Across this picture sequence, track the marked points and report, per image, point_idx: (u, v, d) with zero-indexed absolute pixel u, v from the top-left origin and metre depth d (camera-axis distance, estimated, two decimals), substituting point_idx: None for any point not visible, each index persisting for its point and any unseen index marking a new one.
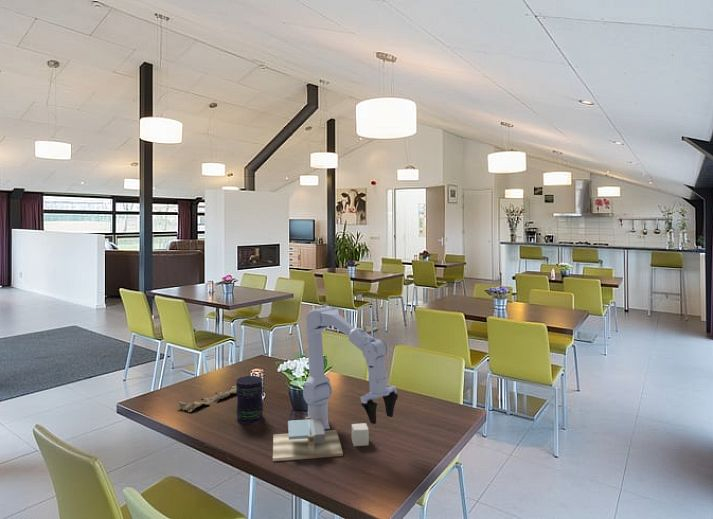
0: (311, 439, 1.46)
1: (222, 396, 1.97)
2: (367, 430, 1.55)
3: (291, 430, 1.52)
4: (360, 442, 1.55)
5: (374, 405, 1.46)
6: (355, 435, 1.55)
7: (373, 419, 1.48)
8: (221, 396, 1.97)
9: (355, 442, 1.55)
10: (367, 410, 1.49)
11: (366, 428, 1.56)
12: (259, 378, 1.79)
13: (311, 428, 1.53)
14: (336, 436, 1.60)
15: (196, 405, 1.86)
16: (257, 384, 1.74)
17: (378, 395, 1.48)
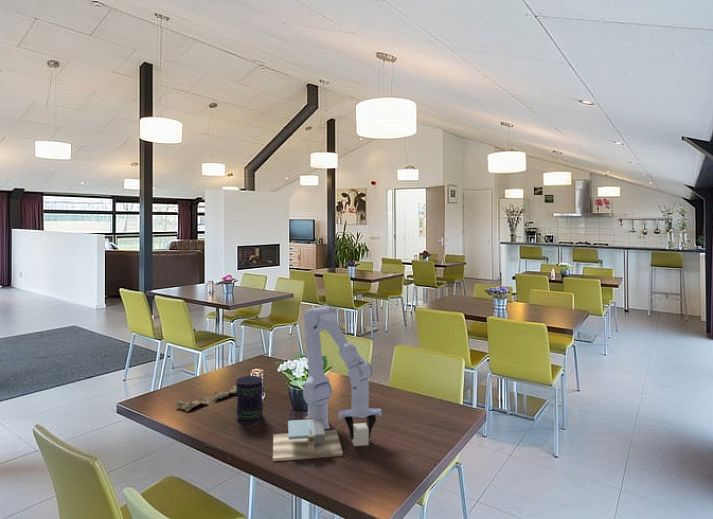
0: (311, 439, 1.46)
1: (221, 396, 1.97)
2: (367, 430, 1.55)
3: (291, 430, 1.52)
4: (360, 441, 1.55)
5: (350, 423, 1.54)
6: (355, 435, 1.55)
7: (350, 435, 1.56)
8: (220, 396, 1.97)
9: (355, 442, 1.55)
10: None
11: (366, 428, 1.56)
12: (259, 378, 1.79)
13: (311, 428, 1.53)
14: (336, 436, 1.60)
15: (194, 404, 1.86)
16: (257, 384, 1.74)
17: (353, 415, 1.54)
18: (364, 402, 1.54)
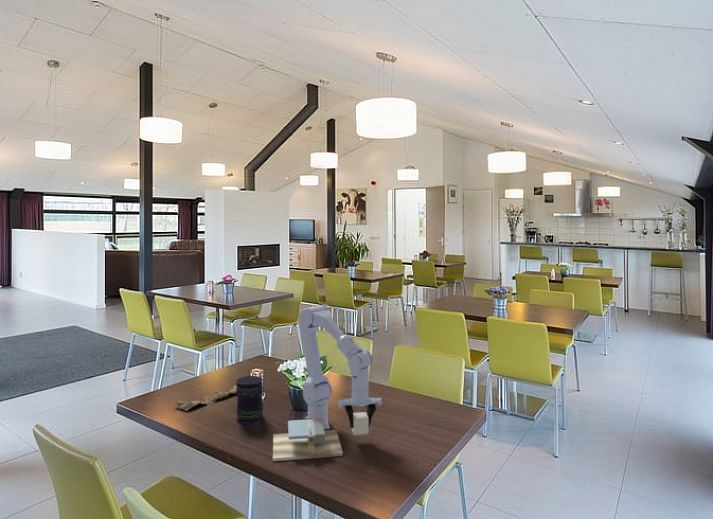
0: (311, 439, 1.46)
1: (220, 396, 1.97)
2: (367, 419, 1.55)
3: (291, 430, 1.52)
4: (360, 430, 1.55)
5: (350, 411, 1.54)
6: (355, 424, 1.55)
7: (350, 423, 1.56)
8: (219, 396, 1.97)
9: (355, 431, 1.55)
10: None
11: (366, 417, 1.56)
12: (259, 378, 1.79)
13: (311, 428, 1.53)
14: (336, 436, 1.60)
15: (193, 404, 1.87)
16: (257, 384, 1.74)
17: (353, 403, 1.54)
18: (364, 391, 1.54)
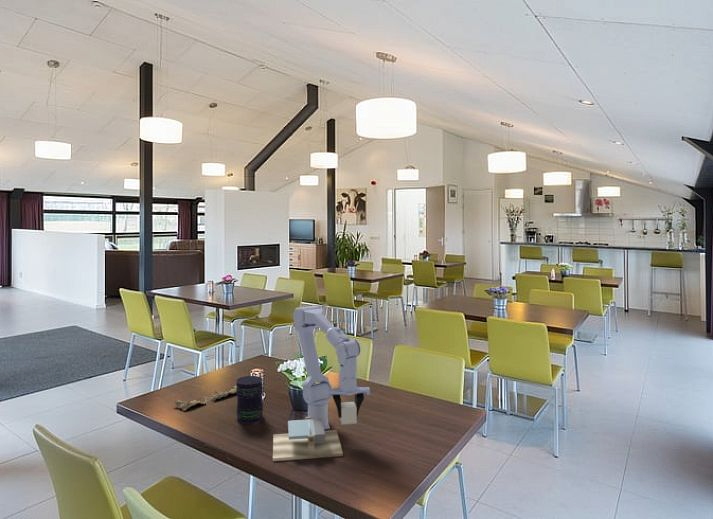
0: (311, 439, 1.46)
1: (219, 396, 1.97)
2: (355, 408, 1.54)
3: (291, 430, 1.52)
4: (348, 420, 1.54)
5: (337, 401, 1.53)
6: (343, 413, 1.54)
7: (338, 413, 1.55)
8: (219, 396, 1.97)
9: (343, 420, 1.54)
10: None
11: (354, 406, 1.55)
12: (259, 378, 1.79)
13: (311, 428, 1.53)
14: (336, 436, 1.60)
15: (191, 404, 1.87)
16: (257, 384, 1.74)
17: (341, 393, 1.53)
18: (352, 380, 1.53)
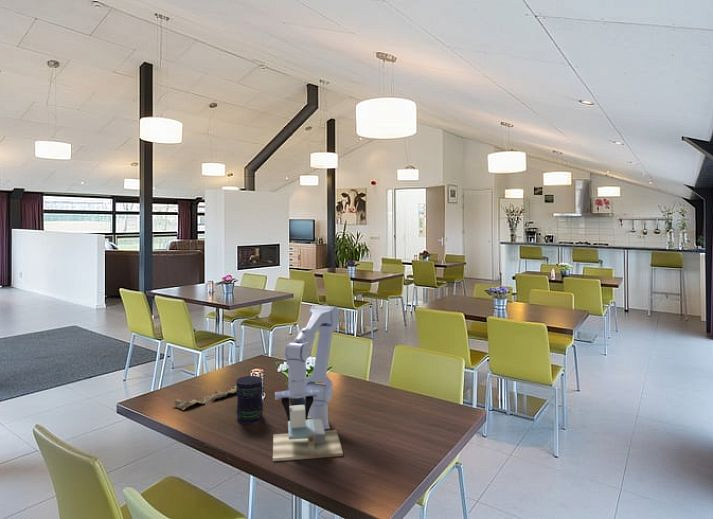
0: (311, 439, 1.46)
1: (219, 396, 1.97)
2: (304, 411, 1.51)
3: (291, 430, 1.52)
4: (297, 423, 1.51)
5: (285, 404, 1.50)
6: (291, 417, 1.51)
7: (287, 416, 1.52)
8: (218, 396, 1.97)
9: (291, 424, 1.51)
10: None
11: (303, 410, 1.52)
12: (259, 378, 1.79)
13: (311, 428, 1.53)
14: (336, 436, 1.60)
15: (190, 403, 1.88)
16: (257, 384, 1.74)
17: (289, 395, 1.50)
18: (300, 382, 1.50)
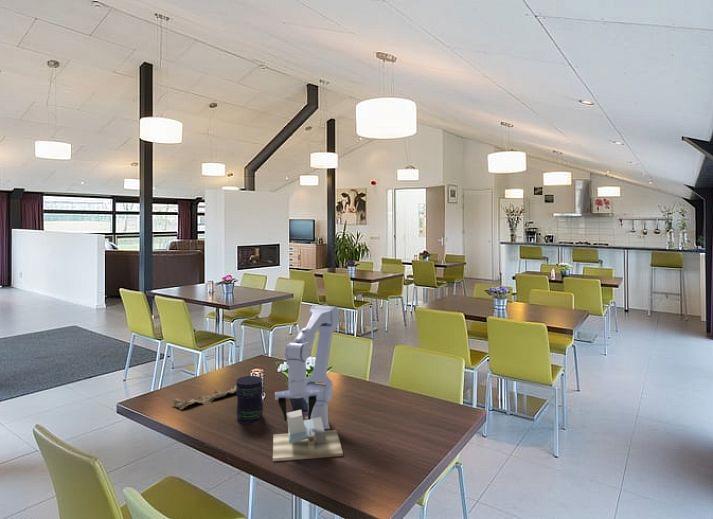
0: (311, 439, 1.46)
1: (218, 395, 1.98)
2: (301, 416, 1.51)
3: None
4: (296, 429, 1.51)
5: (282, 404, 1.50)
6: (289, 424, 1.51)
7: (284, 416, 1.52)
8: (217, 395, 1.98)
9: (290, 430, 1.51)
10: None
11: (300, 415, 1.52)
12: (259, 378, 1.79)
13: (311, 428, 1.53)
14: (336, 436, 1.60)
15: (188, 403, 1.88)
16: (257, 384, 1.74)
17: (289, 395, 1.50)
18: (300, 382, 1.50)
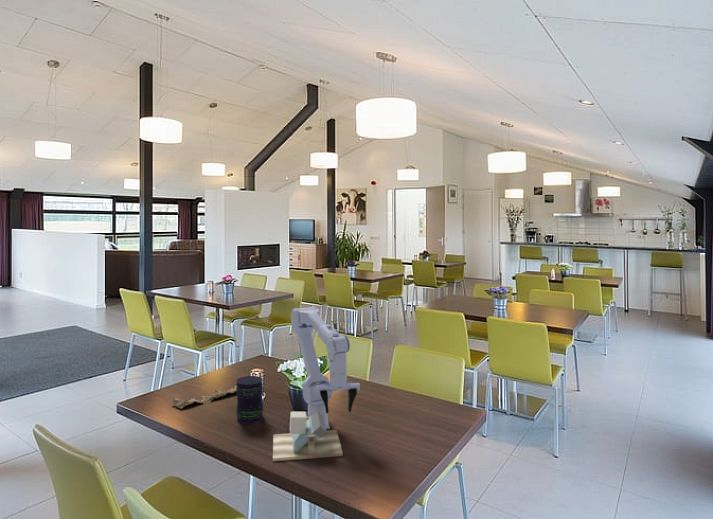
0: (311, 439, 1.46)
1: (218, 395, 1.98)
2: (305, 418, 1.52)
3: (295, 442, 1.52)
4: (297, 429, 1.51)
5: (324, 396, 1.54)
6: (292, 423, 1.51)
7: (325, 409, 1.56)
8: (217, 395, 1.98)
9: (292, 430, 1.51)
10: None
11: (304, 416, 1.52)
12: (259, 378, 1.79)
13: (310, 427, 1.53)
14: (336, 436, 1.60)
15: (188, 402, 1.88)
16: (257, 384, 1.74)
17: (331, 388, 1.54)
18: (342, 375, 1.54)
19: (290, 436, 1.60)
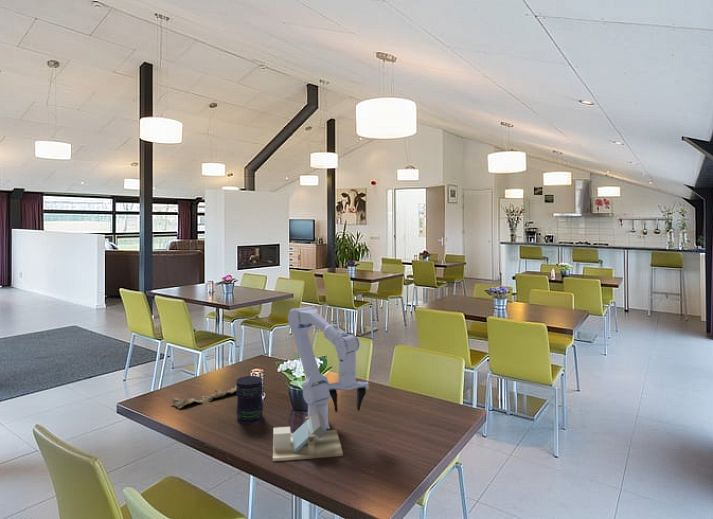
0: (311, 439, 1.46)
1: (217, 395, 1.98)
2: (274, 435, 1.50)
3: (295, 442, 1.52)
4: (286, 441, 1.51)
5: (334, 395, 1.55)
6: (279, 447, 1.51)
7: (335, 407, 1.57)
8: (216, 395, 1.98)
9: (286, 446, 1.51)
10: None
11: (273, 435, 1.51)
12: (259, 378, 1.79)
13: (310, 427, 1.53)
14: (336, 436, 1.60)
15: (187, 402, 1.89)
16: (257, 384, 1.74)
17: (340, 387, 1.56)
18: (351, 374, 1.56)
19: None
